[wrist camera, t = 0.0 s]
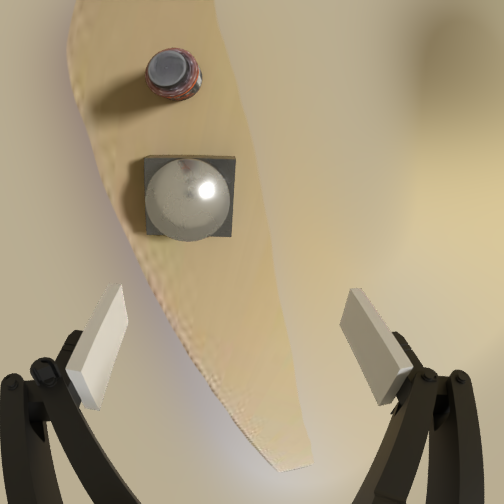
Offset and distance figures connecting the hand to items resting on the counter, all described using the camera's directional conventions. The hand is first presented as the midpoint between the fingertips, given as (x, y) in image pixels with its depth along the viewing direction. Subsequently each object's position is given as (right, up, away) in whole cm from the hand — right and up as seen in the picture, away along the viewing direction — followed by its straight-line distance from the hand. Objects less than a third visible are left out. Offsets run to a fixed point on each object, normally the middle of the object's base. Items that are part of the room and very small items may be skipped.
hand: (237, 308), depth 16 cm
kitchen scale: (-8, +12, +25) cm, 29 cm away
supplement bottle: (-9, +26, +18) cm, 33 cm away
